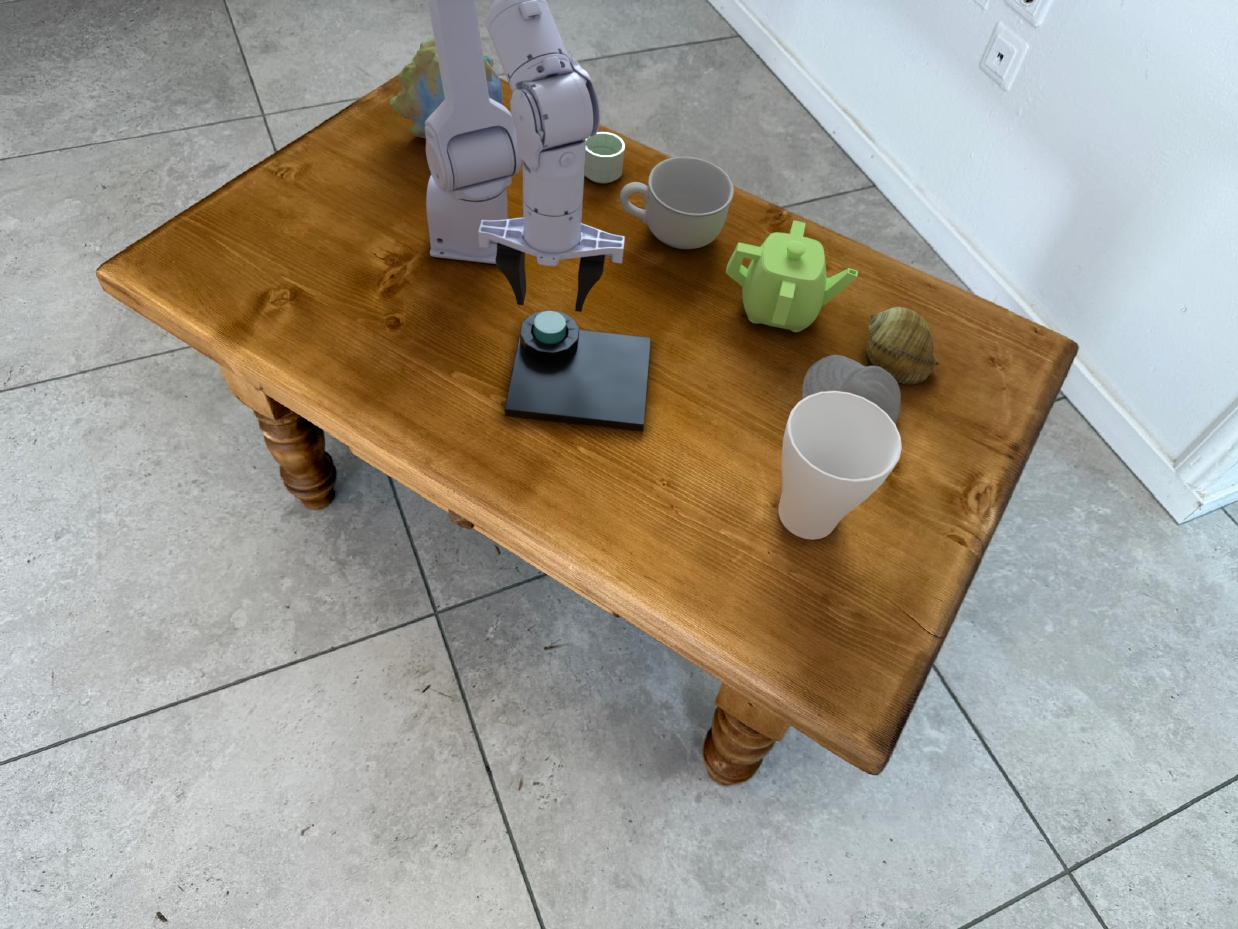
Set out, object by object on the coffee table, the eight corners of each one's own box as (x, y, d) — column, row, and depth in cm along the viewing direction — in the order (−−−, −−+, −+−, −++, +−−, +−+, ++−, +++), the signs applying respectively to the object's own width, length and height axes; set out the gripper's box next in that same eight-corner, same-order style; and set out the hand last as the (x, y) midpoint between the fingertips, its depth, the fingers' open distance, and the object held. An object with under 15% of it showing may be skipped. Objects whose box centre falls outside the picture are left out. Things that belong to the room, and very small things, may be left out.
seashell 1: (795, 372, 102) (788, 429, 95) (816, 336, 98) (810, 393, 91) (888, 406, 103) (888, 465, 96) (912, 372, 99) (914, 431, 92)
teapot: (769, 355, 104) (789, 293, 96) (711, 295, 109) (726, 231, 101) (843, 322, 108) (868, 260, 100) (785, 265, 113) (804, 202, 105)
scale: (504, 416, 95) (504, 398, 93) (523, 325, 103) (522, 307, 101) (643, 431, 96) (645, 414, 93) (650, 340, 104) (653, 321, 101)
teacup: (724, 213, 119) (735, 161, 112) (722, 267, 112) (733, 215, 106) (621, 200, 119) (626, 147, 112) (613, 253, 112) (618, 201, 106)
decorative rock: (467, 59, 107) (498, 5, 117) (352, 76, 112) (390, 23, 121) (503, 162, 118) (528, 104, 127) (396, 174, 122) (428, 117, 131)
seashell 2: (914, 391, 108) (953, 334, 105) (921, 400, 101) (963, 339, 99) (845, 350, 108) (882, 293, 106) (847, 356, 102) (887, 295, 99)
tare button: (531, 342, 98) (531, 331, 97) (535, 320, 100) (536, 308, 99) (563, 346, 98) (564, 335, 97) (567, 323, 100) (568, 312, 99)
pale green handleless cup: (579, 183, 120) (581, 154, 116) (583, 158, 123) (585, 129, 120) (620, 188, 120) (623, 159, 116) (623, 162, 123) (626, 134, 120)
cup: (831, 465, 95) (870, 382, 84) (875, 547, 89) (922, 469, 78) (741, 483, 92) (769, 400, 82) (779, 569, 87) (815, 492, 76)
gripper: (470, 215, 82) (477, 320, 93) (625, 233, 82) (614, 335, 93) (482, 169, 86) (488, 275, 97) (630, 186, 87) (619, 290, 97)
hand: (550, 301), depth 96 cm, fingers open, 6 cm apart
